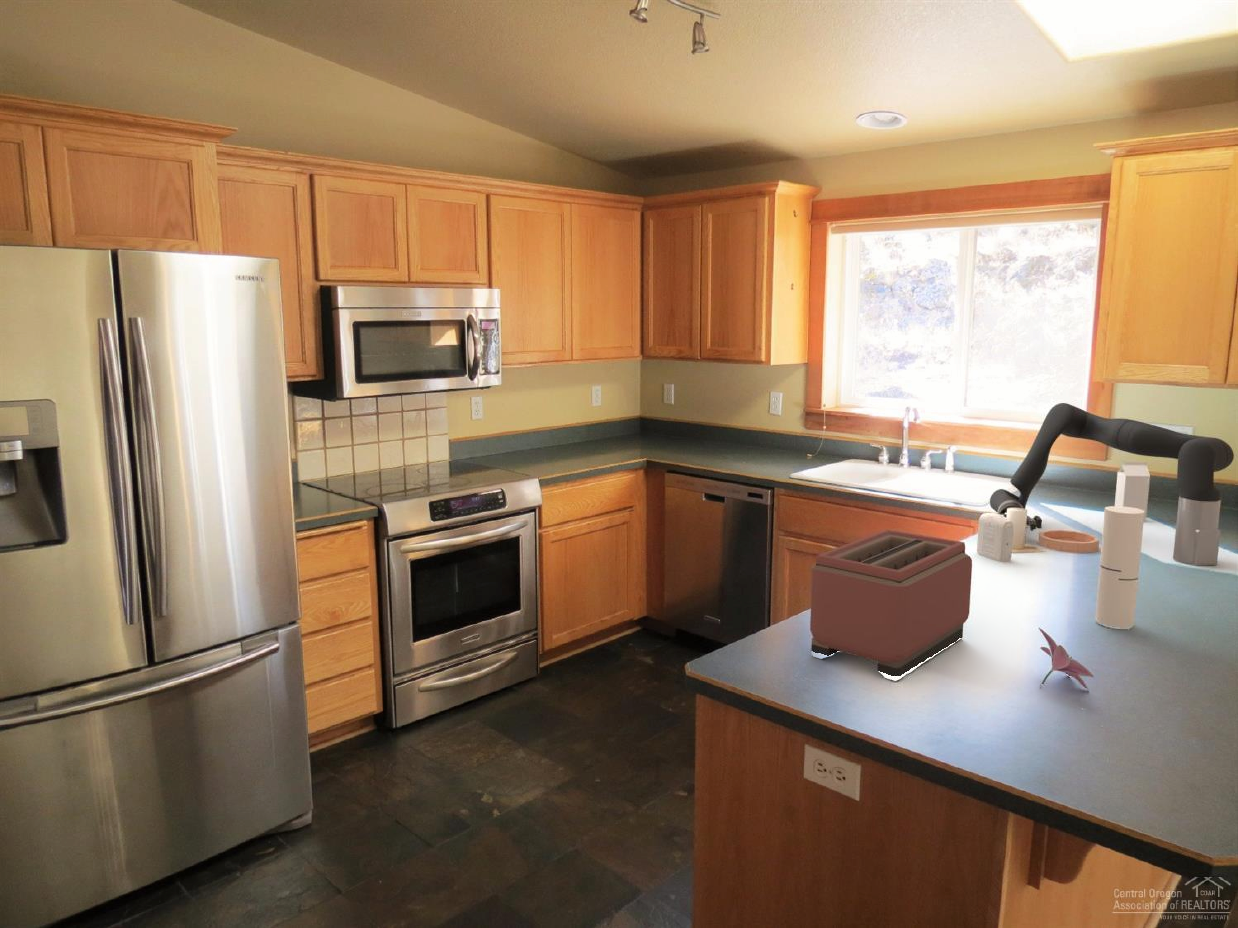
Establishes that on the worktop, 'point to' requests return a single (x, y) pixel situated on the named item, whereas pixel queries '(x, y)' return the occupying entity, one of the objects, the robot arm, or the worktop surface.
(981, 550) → the photo printer
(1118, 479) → the milk carton
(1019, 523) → the pillar candle
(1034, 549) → the cork mat
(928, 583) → the toaster
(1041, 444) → the robot arm
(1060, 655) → the lily
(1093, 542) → the bowl
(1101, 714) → the worktop surface
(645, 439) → the worktop surface
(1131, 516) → the cylindrical container
